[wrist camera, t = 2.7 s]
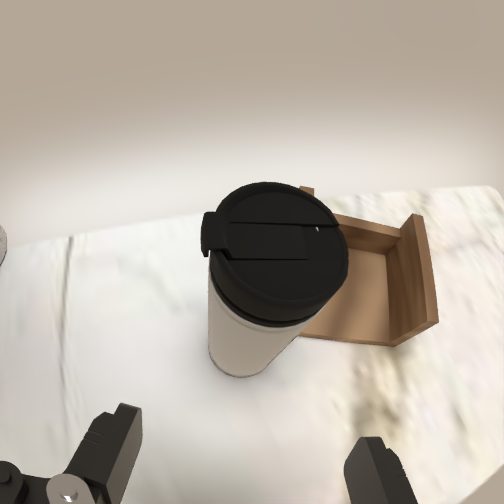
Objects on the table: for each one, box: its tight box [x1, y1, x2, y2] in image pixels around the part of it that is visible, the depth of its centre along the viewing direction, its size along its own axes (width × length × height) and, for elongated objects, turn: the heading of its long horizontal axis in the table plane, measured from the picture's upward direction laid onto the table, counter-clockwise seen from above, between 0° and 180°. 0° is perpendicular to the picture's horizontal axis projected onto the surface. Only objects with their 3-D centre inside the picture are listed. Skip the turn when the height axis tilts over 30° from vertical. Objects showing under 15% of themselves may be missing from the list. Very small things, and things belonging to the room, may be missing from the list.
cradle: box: [297, 186, 439, 346], centre depth 31 cm, size 14×12×8 cm
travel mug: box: [201, 182, 349, 377], centre depth 21 cm, size 6×7×20 cm
